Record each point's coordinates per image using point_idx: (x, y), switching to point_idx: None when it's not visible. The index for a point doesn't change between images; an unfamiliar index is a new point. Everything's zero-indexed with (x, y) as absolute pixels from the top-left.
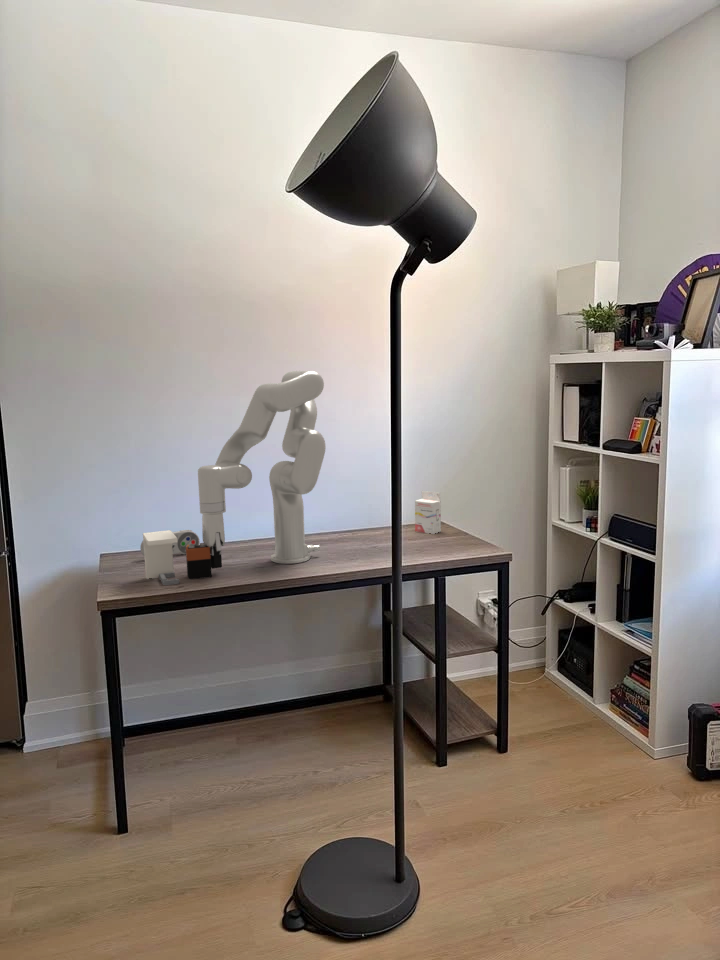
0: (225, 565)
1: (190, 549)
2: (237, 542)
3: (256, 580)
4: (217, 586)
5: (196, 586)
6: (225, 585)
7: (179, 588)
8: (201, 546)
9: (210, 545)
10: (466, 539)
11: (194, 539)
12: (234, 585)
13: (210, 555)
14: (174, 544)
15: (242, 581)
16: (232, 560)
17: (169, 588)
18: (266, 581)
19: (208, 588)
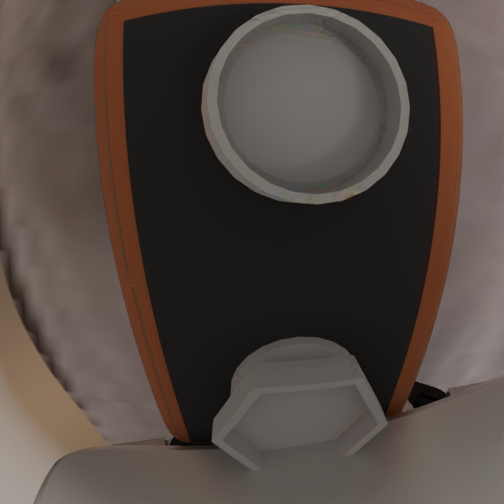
0: (440, 331)
1: (97, 85)
2: None
3: (117, 421)
4: (32, 274)
5: (41, 159)
6: (46, 311)
7: (35, 64)
8: (245, 365)
9: (50, 472)
10: None
11: None
12: (48, 344)
13: None
14: None
15: (104, 383)
16: (486, 352)
17: (57, 9)
18: (103, 437)
19: (8, 228)
